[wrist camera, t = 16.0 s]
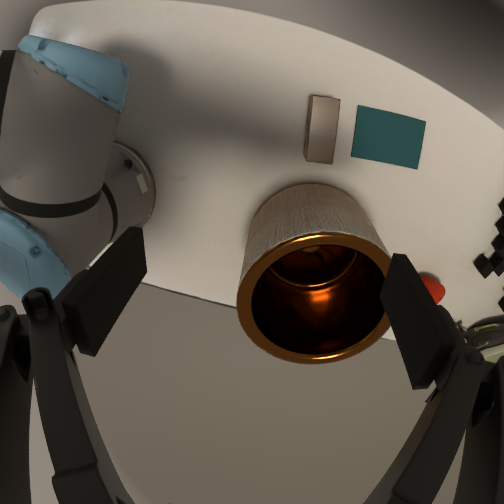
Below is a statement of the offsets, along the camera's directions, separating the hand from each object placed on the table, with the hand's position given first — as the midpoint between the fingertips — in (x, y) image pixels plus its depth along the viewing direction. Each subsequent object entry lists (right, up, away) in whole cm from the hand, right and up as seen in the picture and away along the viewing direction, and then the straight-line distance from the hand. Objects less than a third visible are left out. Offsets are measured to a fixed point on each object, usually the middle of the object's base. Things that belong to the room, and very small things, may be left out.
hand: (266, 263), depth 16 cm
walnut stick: (+8, +16, +21) cm, 28 cm away
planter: (+8, +2, +29) cm, 30 cm away
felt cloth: (+18, +16, +20) cm, 31 cm away
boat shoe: (+56, -22, +27) cm, 66 cm away
